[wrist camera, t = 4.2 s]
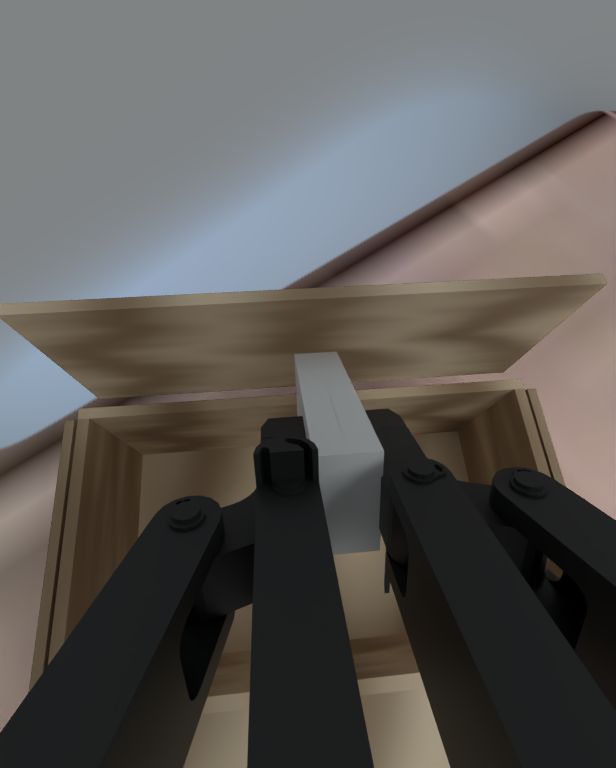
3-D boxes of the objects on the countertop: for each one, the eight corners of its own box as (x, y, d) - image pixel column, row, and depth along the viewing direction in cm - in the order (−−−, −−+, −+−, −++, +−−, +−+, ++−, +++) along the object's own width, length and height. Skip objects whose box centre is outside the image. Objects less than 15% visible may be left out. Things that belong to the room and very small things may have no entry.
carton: (469, 424, 28) (533, 378, 21) (556, 790, 21) (701, 918, 14) (128, 450, 27) (65, 409, 19) (98, 853, 19) (-20, 1036, 12)
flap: (500, 363, 21) (602, 271, 14) (503, 372, 20) (607, 283, 14) (100, 389, 19) (-1, 301, 13) (99, 398, 19) (-4, 315, 12)
